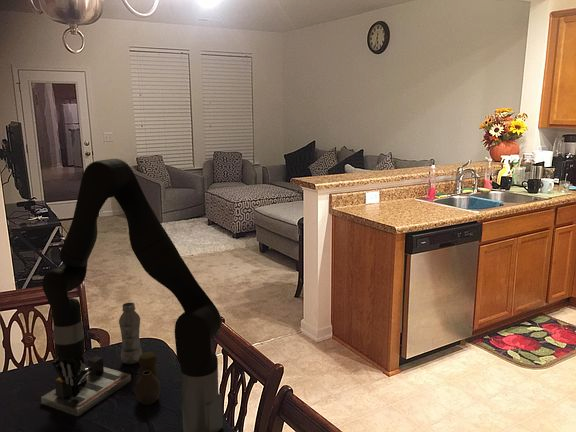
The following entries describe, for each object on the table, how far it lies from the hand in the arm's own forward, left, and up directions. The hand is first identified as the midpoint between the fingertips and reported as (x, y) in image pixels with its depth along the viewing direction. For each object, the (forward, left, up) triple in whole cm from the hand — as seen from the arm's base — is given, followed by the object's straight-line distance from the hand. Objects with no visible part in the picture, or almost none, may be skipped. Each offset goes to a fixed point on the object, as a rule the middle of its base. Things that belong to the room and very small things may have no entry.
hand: (74, 395), depth 133 cm
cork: (-13, -16, -3) cm, 21 cm away
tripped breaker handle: (+4, 0, -1) cm, 4 cm away
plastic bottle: (+3, -26, -3) cm, 26 cm away
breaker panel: (+2, -7, -3) cm, 8 cm away
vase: (-17, -11, -3) cm, 20 cm away
